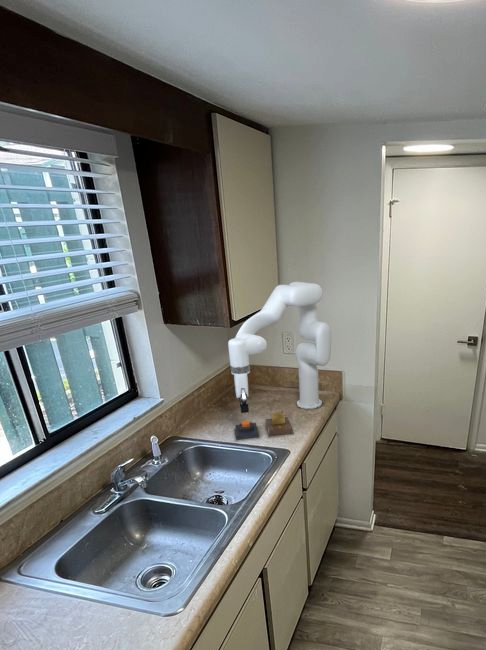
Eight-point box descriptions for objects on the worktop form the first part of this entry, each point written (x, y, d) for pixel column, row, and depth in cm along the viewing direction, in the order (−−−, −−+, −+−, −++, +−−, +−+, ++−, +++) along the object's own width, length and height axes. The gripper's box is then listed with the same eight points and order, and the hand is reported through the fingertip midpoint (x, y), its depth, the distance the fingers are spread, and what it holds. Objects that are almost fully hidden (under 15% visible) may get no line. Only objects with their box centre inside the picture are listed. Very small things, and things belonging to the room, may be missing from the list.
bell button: (241, 424, 189) (241, 421, 188) (249, 423, 190) (249, 420, 189) (242, 428, 186) (241, 424, 185) (250, 427, 187) (250, 423, 186)
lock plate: (266, 425, 197) (265, 418, 195) (288, 422, 199) (287, 416, 198) (269, 436, 186) (268, 430, 185) (292, 434, 189) (292, 427, 187)
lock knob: (272, 424, 190) (271, 413, 188) (272, 423, 192) (271, 412, 189) (285, 423, 191) (284, 412, 189) (284, 421, 193) (283, 411, 191)
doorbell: (235, 429, 193) (234, 421, 191) (256, 426, 195) (255, 418, 194) (237, 440, 183) (236, 431, 182) (258, 437, 186) (257, 429, 184)
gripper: (230, 363, 184) (234, 402, 191) (231, 376, 169) (236, 418, 176) (248, 362, 186) (251, 401, 193) (251, 374, 171) (255, 416, 178)
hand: (244, 409), depth 185 cm, fingers open, 5 cm apart
